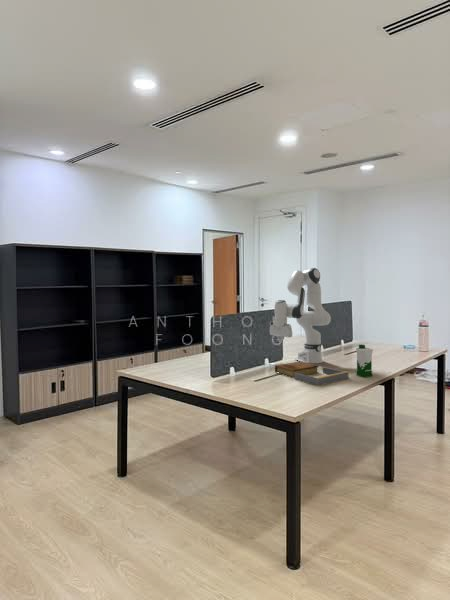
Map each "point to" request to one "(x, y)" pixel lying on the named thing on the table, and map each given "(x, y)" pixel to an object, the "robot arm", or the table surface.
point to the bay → (332, 377)
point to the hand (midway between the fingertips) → (280, 342)
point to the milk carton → (364, 361)
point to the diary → (296, 368)
